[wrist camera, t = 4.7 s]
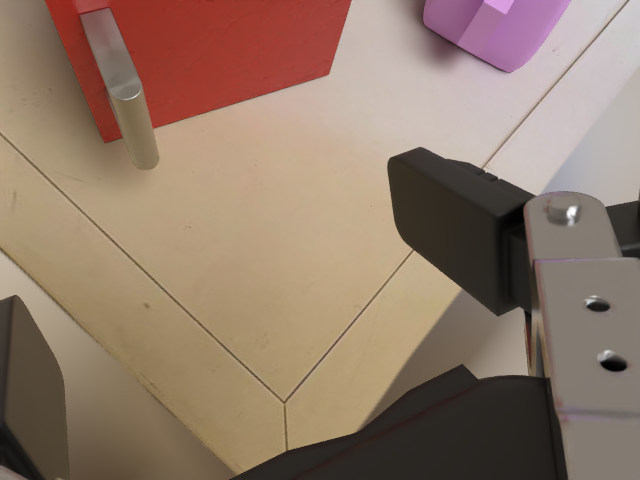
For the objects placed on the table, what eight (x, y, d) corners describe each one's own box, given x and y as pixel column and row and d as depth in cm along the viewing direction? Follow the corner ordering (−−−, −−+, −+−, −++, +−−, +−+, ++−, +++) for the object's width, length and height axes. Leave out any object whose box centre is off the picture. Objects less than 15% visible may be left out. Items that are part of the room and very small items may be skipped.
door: (358, 132, 43) (432, -28, 28) (130, 209, 39) (70, 69, 23) (325, 66, 45) (378, -120, 29) (100, 133, 40) (25, -46, 25)
